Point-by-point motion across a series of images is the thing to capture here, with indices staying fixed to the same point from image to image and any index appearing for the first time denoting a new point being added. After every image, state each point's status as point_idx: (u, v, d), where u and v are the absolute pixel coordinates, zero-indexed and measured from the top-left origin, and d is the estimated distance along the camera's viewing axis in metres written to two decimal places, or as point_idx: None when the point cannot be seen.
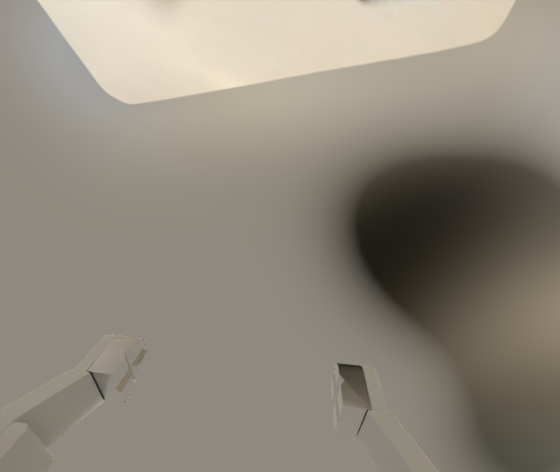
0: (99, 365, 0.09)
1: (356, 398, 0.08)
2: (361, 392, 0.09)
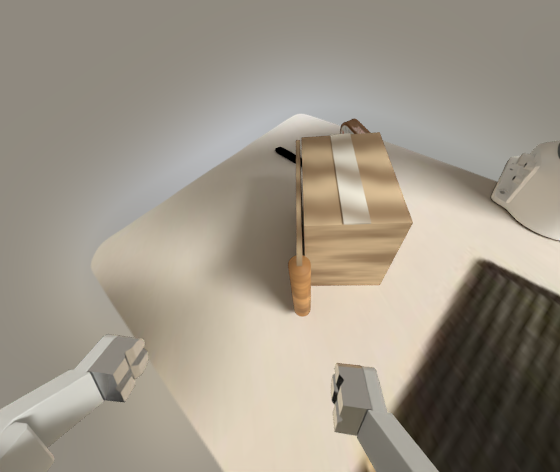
0: (99, 365, 0.09)
1: (356, 398, 0.08)
2: (361, 392, 0.09)
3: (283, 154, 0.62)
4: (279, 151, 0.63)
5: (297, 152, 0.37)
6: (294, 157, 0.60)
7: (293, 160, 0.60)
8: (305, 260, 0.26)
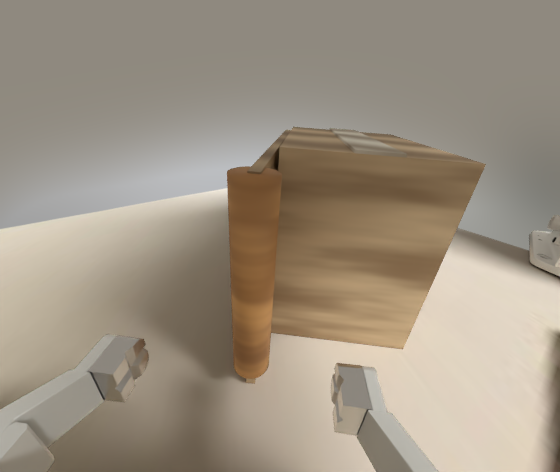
0: (99, 365, 0.09)
1: (356, 398, 0.08)
2: (361, 392, 0.09)
3: None
4: None
5: (285, 132, 0.28)
6: None
7: None
8: (270, 171, 0.11)
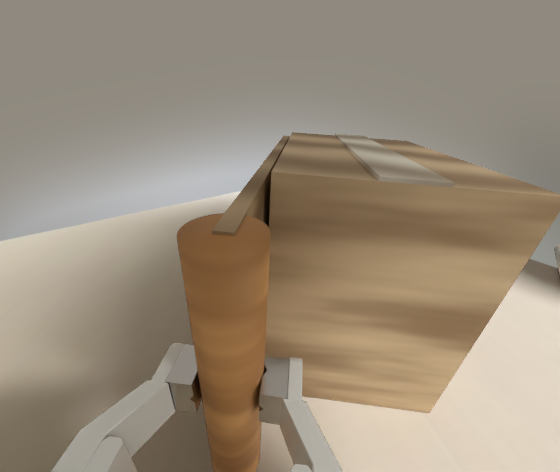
0: (175, 375, 0.09)
1: (274, 387, 0.09)
2: (281, 381, 0.09)
3: None
4: None
5: (283, 139, 0.24)
6: None
7: None
8: (253, 225, 0.07)
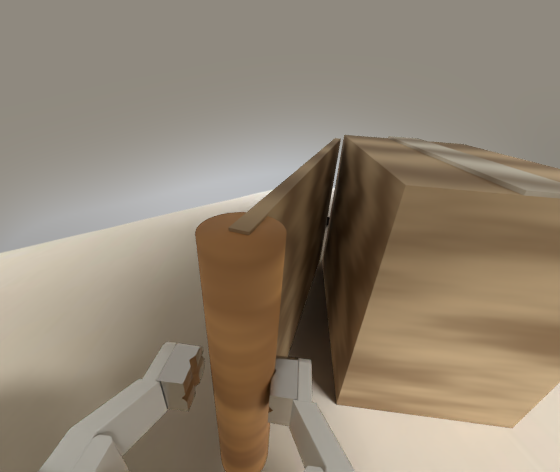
0: (167, 374, 0.09)
1: (284, 388, 0.09)
2: (291, 383, 0.09)
3: None
4: None
5: (333, 142, 0.23)
6: None
7: None
8: (271, 227, 0.07)
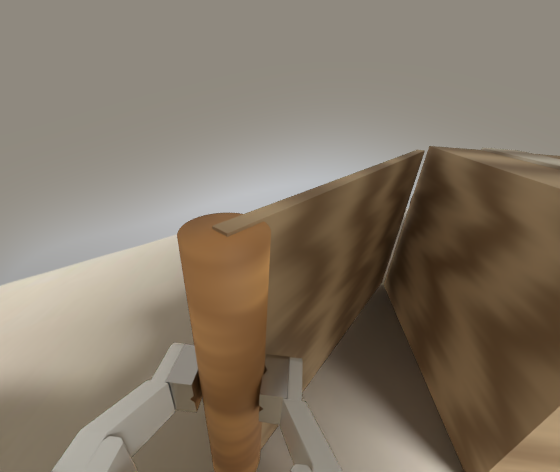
0: (175, 375, 0.09)
1: (274, 387, 0.09)
2: (281, 382, 0.09)
3: None
4: None
5: (411, 153, 0.20)
6: None
7: None
8: (256, 232, 0.07)
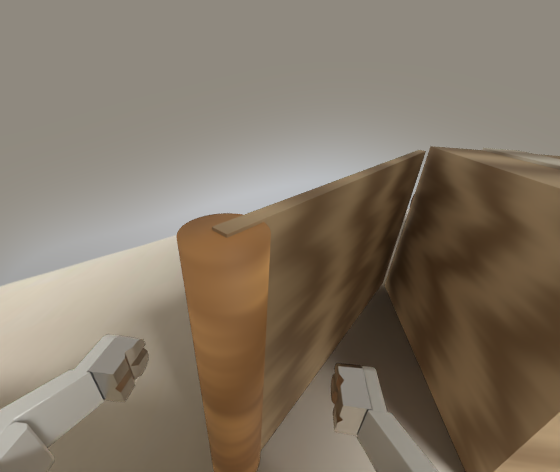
0: (99, 365, 0.09)
1: (356, 398, 0.08)
2: (361, 392, 0.09)
3: None
4: None
5: (412, 154, 0.20)
6: None
7: None
8: (256, 233, 0.06)
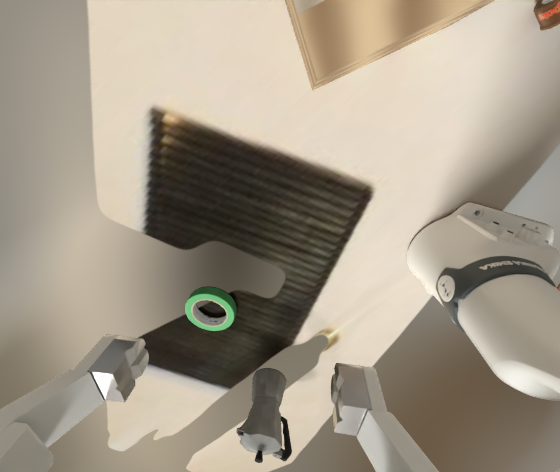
0: (99, 365, 0.09)
1: (356, 398, 0.08)
2: (361, 392, 0.09)
3: None
4: None
5: None
6: None
7: None
8: None
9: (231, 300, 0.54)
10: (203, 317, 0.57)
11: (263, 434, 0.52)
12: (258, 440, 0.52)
